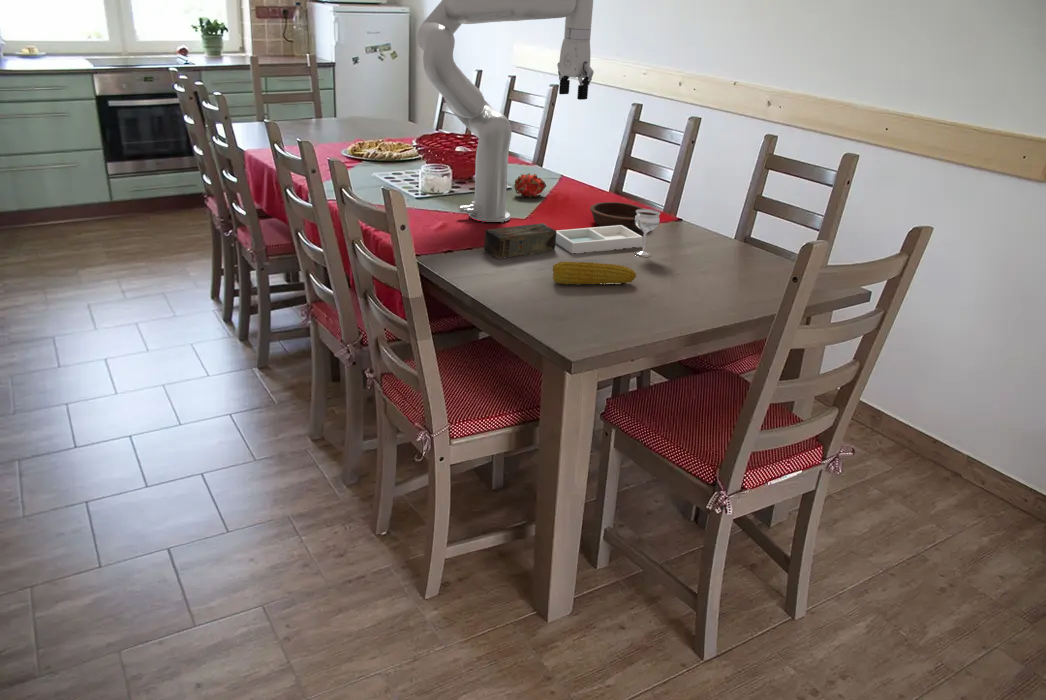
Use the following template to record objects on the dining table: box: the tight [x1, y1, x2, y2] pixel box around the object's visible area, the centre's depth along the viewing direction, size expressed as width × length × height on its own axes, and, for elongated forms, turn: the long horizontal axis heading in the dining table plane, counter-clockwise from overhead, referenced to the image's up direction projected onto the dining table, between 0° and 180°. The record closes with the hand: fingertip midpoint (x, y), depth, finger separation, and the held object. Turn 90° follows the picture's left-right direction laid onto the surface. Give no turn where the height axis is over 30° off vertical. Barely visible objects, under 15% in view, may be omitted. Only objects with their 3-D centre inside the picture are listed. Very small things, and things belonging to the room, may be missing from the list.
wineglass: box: [635, 208, 661, 255], centre depth 227 cm, size 7×7×12 cm
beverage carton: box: [483, 222, 557, 259], centre depth 225 cm, size 8×19×7 cm, turn 123°
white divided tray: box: [556, 225, 644, 255], centre depth 235 cm, size 22×12×3 cm, turn 115°
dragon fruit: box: [513, 173, 547, 199], centre depth 277 cm, size 8×8×12 cm
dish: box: [589, 201, 645, 232], centre depth 254 cm, size 18×22×5 cm
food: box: [552, 260, 637, 285], centre depth 206 cm, size 21×6×6 cm, turn 100°
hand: (572, 96), depth 246 cm, fingers open, 9 cm apart
